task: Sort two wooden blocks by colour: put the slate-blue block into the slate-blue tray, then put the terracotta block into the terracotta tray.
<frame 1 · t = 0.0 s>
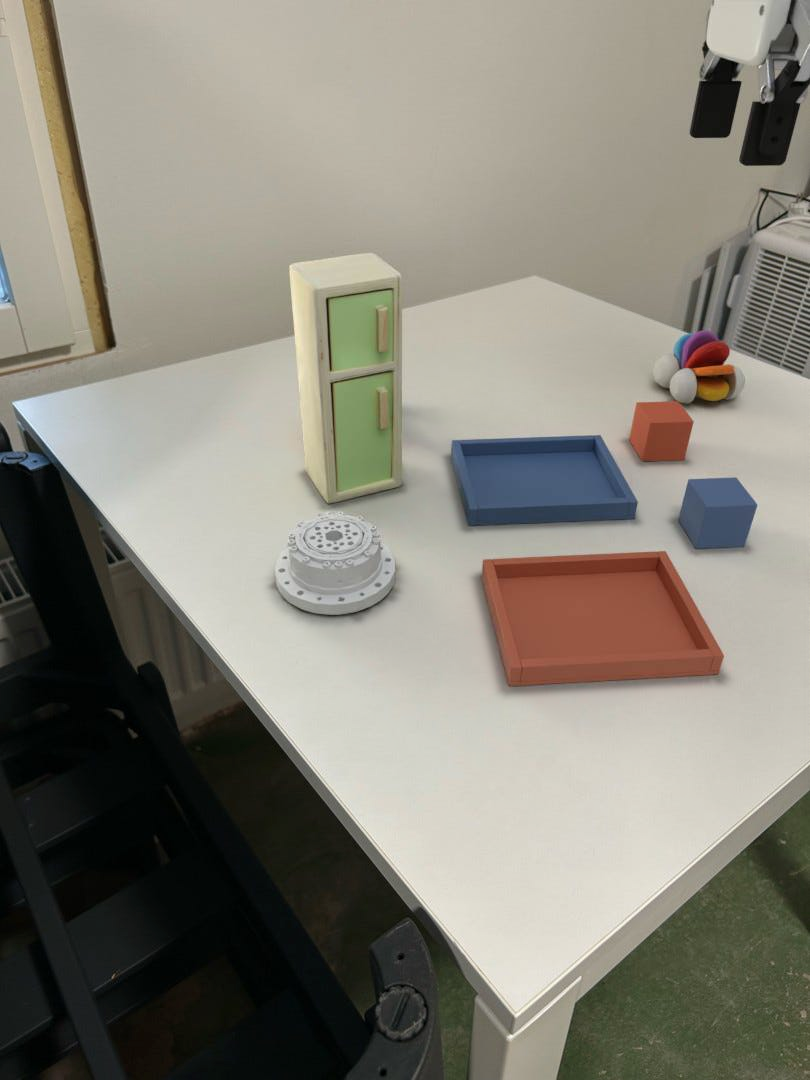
hand: (733, 150, 63), 31 cm above the table, tool pointing down, fingers open, 9 cm apart
toy refrigerator: (353, 483, 81), on the table
blue block: (710, 533, 75), on the table
mechanical component: (336, 580, 69), on the table
terracotta tray: (591, 622, 65), on the table
rainbow petal toy: (693, 393, 98), on the table
blue tray: (537, 485, 81), on the table
terracotta block: (656, 449, 87), on the table
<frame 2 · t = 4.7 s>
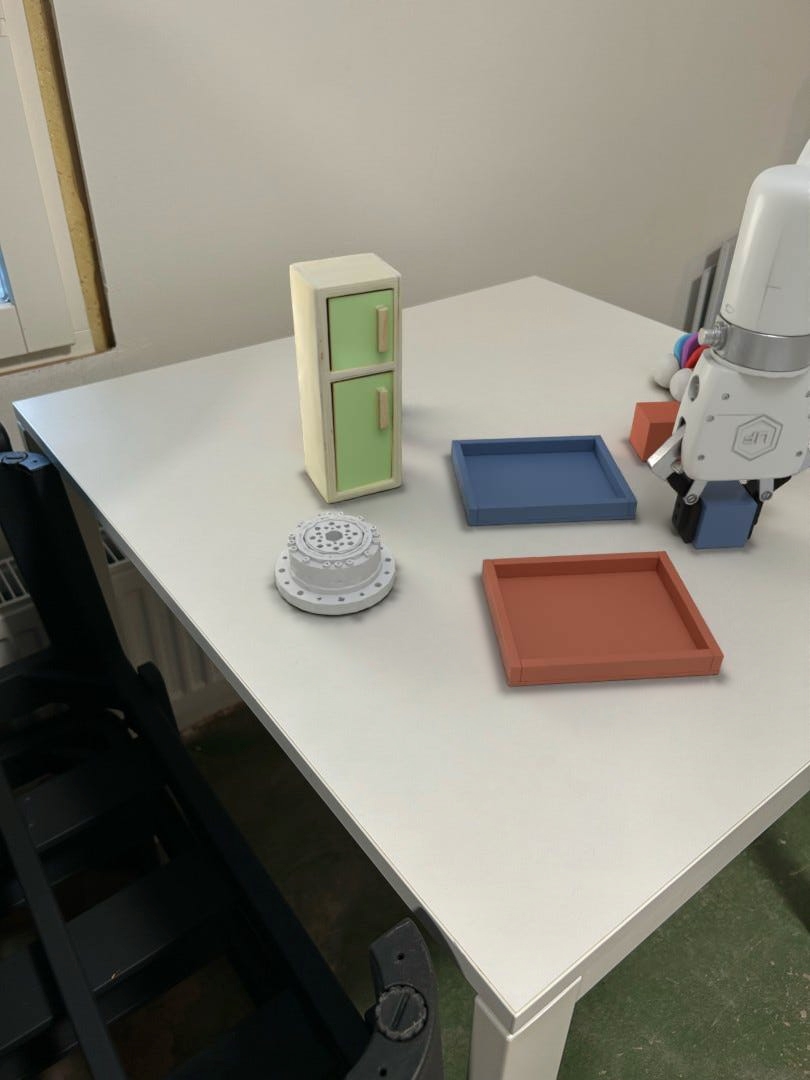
hand: (711, 529, 75), 0 cm above the table, tool pointing down, fingers closed on blue block, 4 cm apart
blue block: (710, 533, 75), on the table, touching gripper
everything else where it was.
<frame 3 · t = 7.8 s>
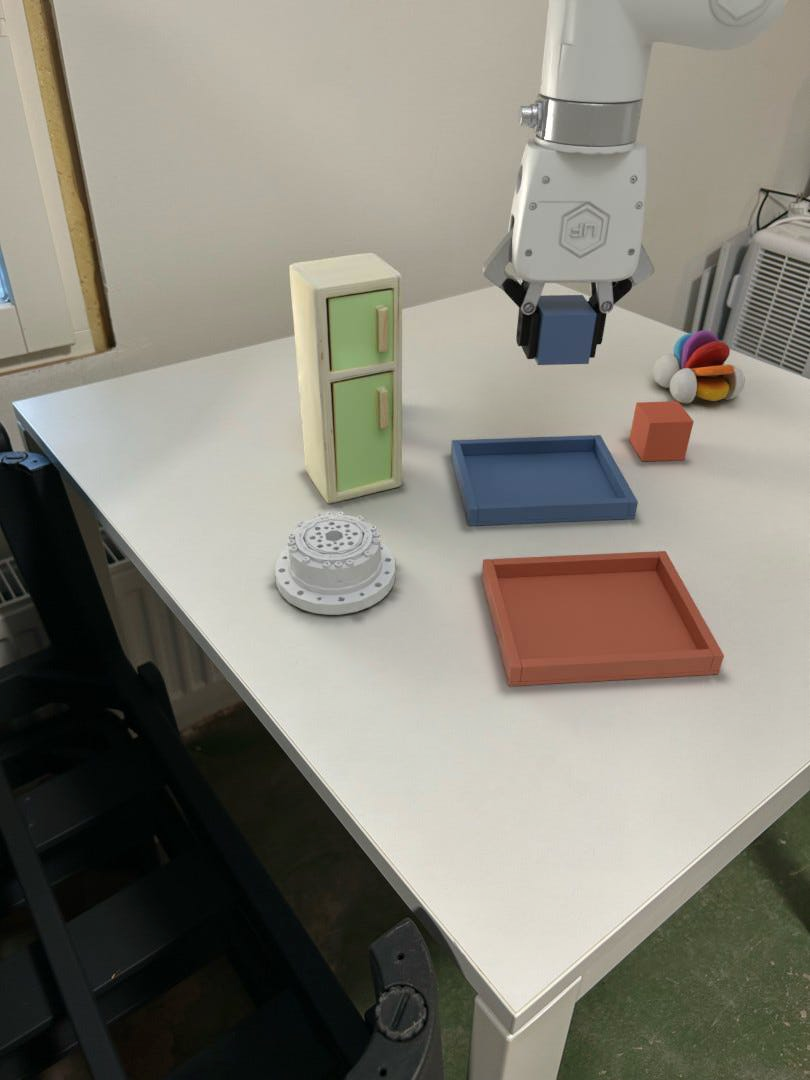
hand: (557, 350, 72), 14 cm above the table, tool pointing down, fingers closed on blue block, 4 cm apart
blue block: (557, 354, 73), point 14 cm above the table, touching gripper
everything else where it was.
when the fingers open (1 cm above the table, at t = 11.3 s): blue block stays where it is, resting on blue tray.
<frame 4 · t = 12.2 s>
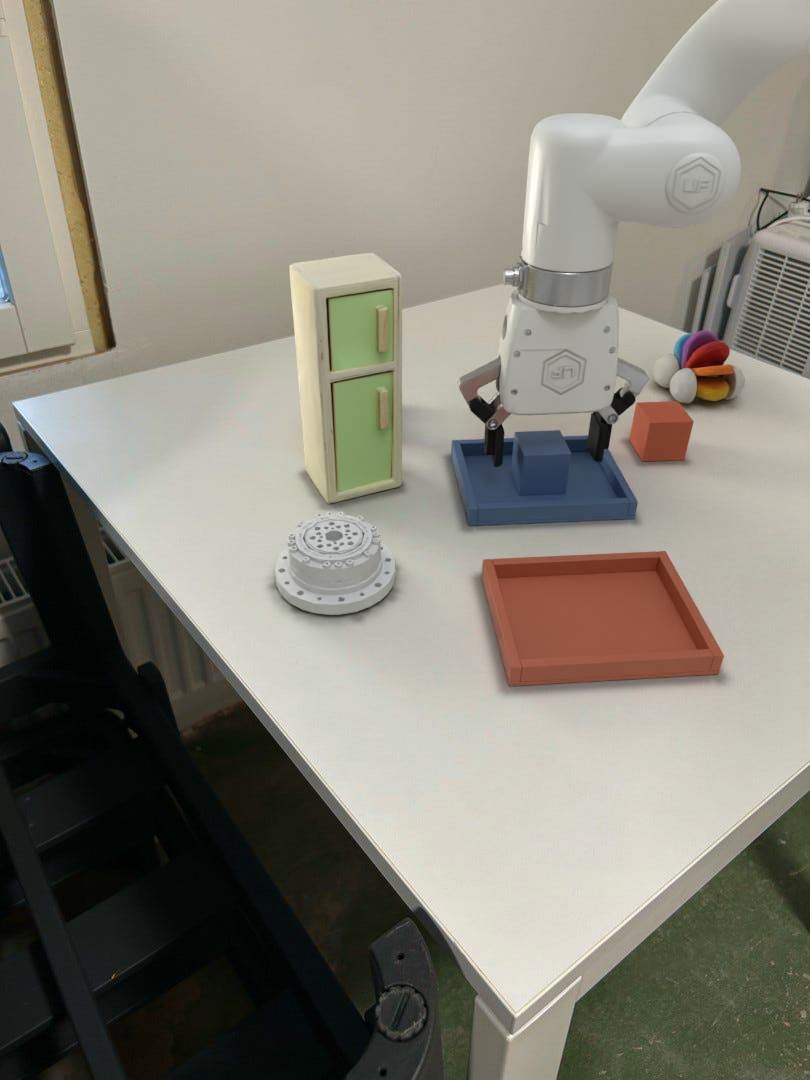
hand: (544, 457, 79), 3 cm above the table, tool pointing down, fingers open, 9 cm apart
blue block: (537, 482, 81), resting on blue tray
everything else where it was.
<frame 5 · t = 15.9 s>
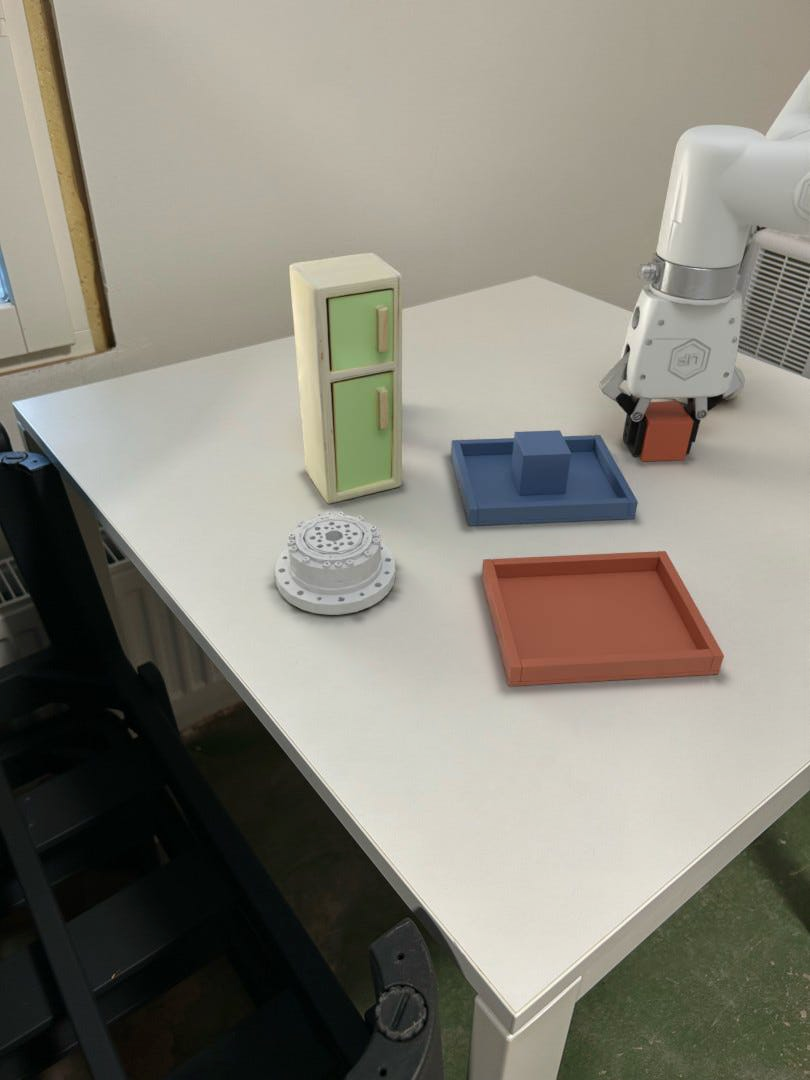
hand: (656, 446, 87), 0 cm above the table, tool pointing down, fingers closed on terracotta block, 4 cm apart
terracotta block: (656, 449, 87), on the table, touching gripper
everything else where it was.
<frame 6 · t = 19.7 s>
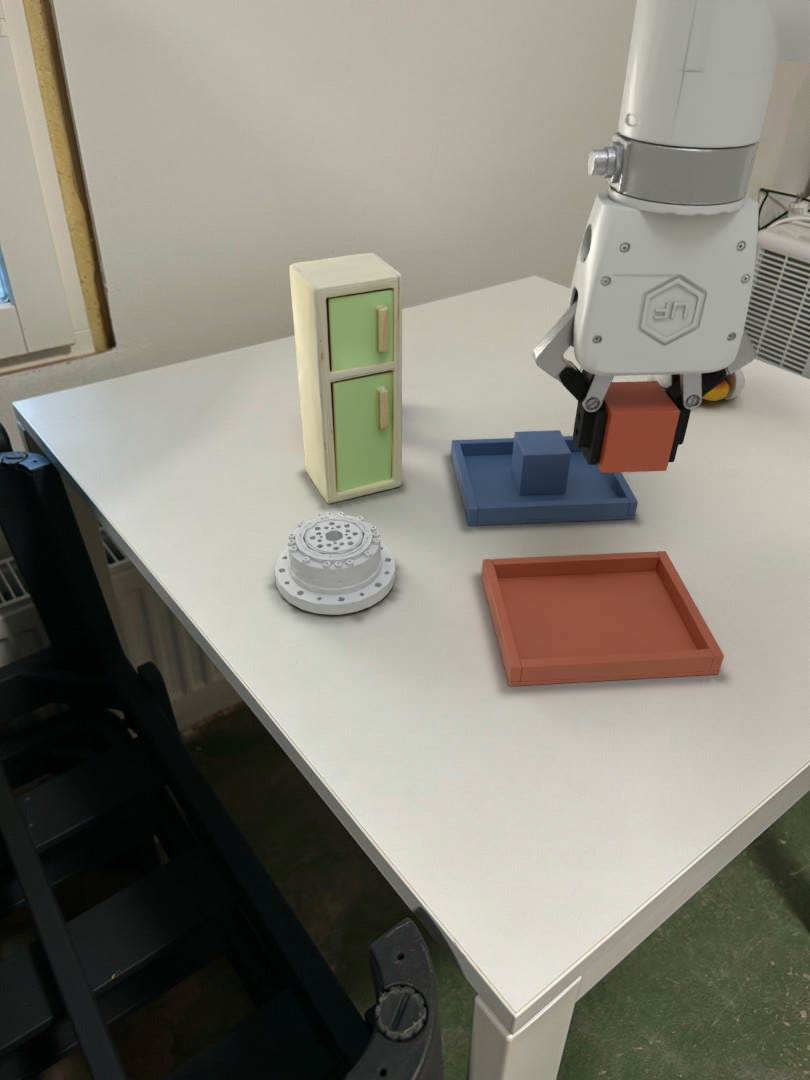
hand: (625, 451, 57), 15 cm above the table, tool pointing down, fingers closed on terracotta block, 4 cm apart
terracotta block: (624, 455, 57), point 15 cm above the table, touching gripper
everything else where it was.
when the fingers open (1 cm above the table, at t = 23.4 s): terracotta block stays where it is, resting on terracotta tray.
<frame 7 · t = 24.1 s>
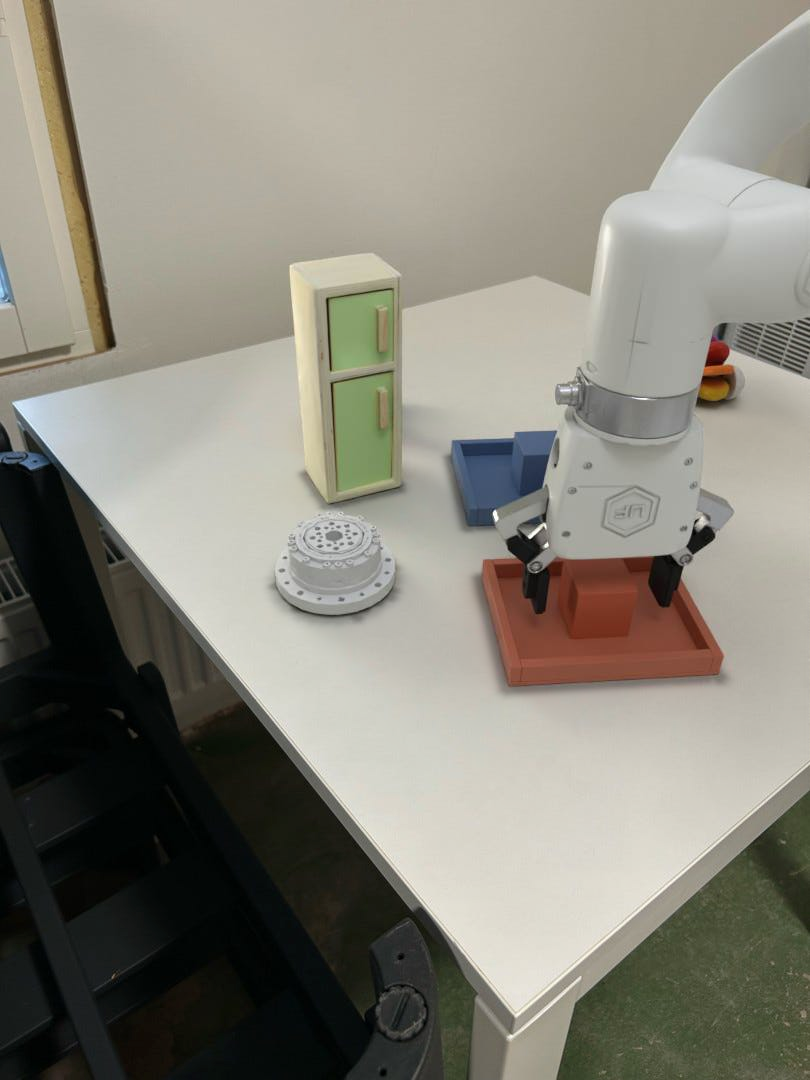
hand: (597, 599, 64), 2 cm above the table, tool pointing down, fingers open, 9 cm apart
terracotta block: (591, 618, 65), resting on terracotta tray
everything else where it was.
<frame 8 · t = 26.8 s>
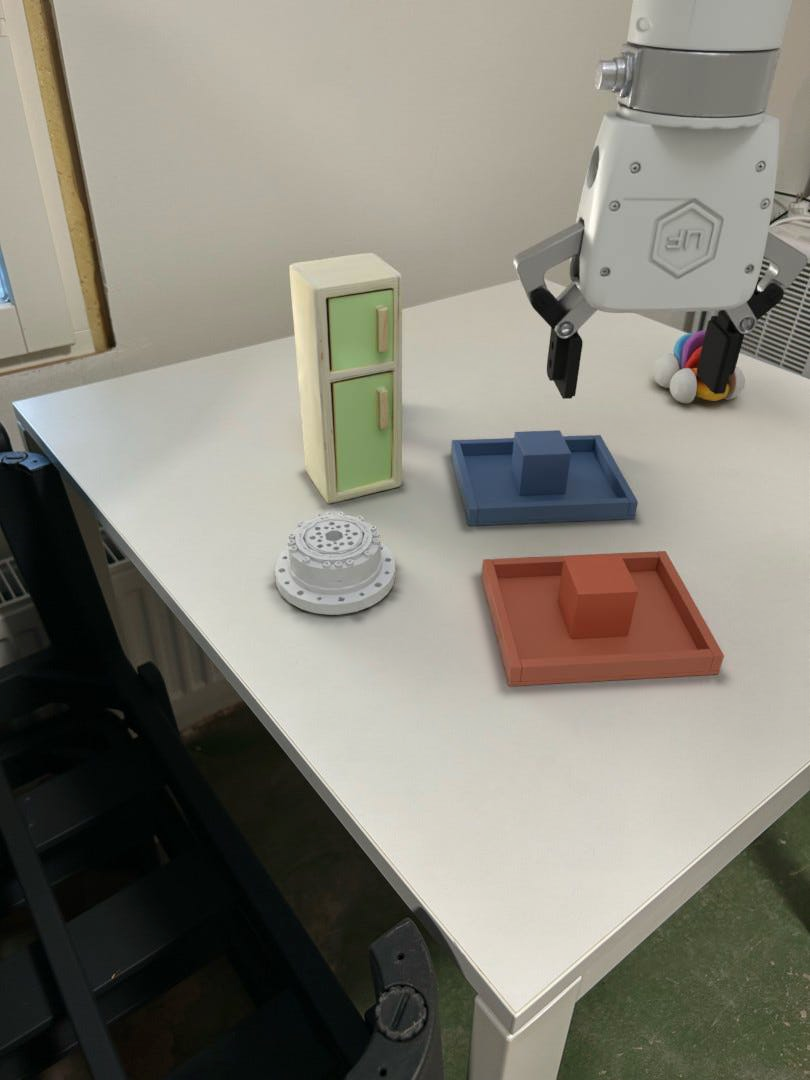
hand: (636, 386, 53), 20 cm above the table, tool pointing down, fingers open, 9 cm apart
nothing on the table moved.
at the end: blue block inside the target area in the blue tray (0.1 cm from its centre), point 0.4 cm above the blue tray's base; terracotta block inside the target area in the terracotta tray (0.1 cm from its centre), point 0.4 cm above the terracotta tray's base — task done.
